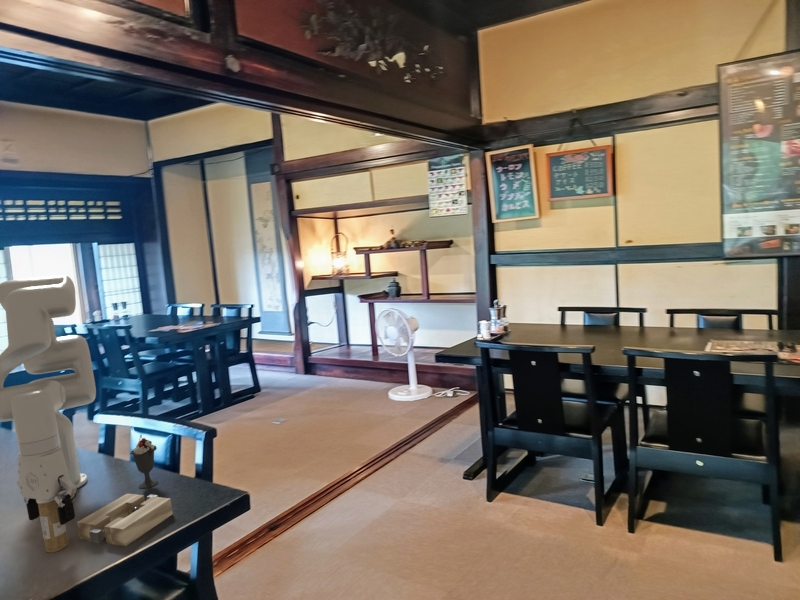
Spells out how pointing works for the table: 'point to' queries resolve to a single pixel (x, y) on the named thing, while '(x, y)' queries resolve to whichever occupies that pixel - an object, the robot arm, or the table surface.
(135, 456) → the sundae
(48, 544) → the sprinkles bottle
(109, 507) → the slotted wooden block
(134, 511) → the plunger
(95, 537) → the plunger
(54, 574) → the table surface
